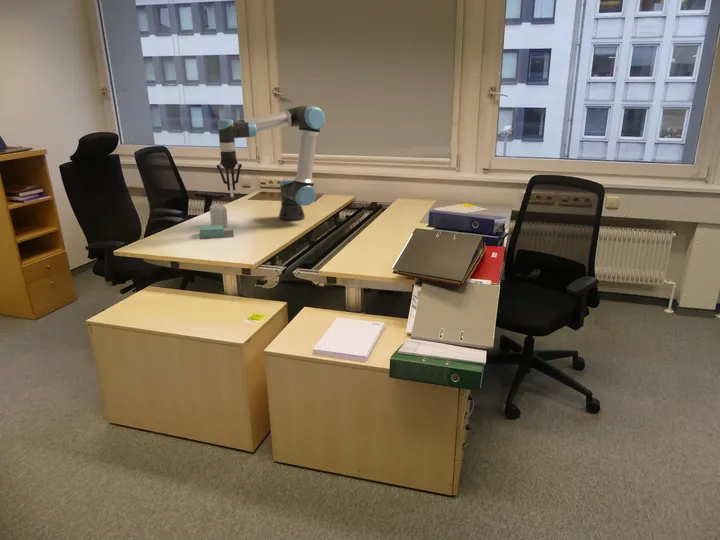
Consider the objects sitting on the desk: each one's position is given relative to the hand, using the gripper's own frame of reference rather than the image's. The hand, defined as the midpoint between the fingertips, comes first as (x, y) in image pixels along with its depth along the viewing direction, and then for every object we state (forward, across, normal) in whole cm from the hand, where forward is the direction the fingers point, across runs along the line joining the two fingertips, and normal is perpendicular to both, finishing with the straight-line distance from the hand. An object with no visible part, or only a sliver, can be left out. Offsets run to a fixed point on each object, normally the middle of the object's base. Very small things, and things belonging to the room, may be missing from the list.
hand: (232, 196), depth 276 cm
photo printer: (+20, +8, -19) cm, 29 cm away
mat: (+20, +10, 0) cm, 22 cm away
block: (+18, +6, 0) cm, 19 cm away
